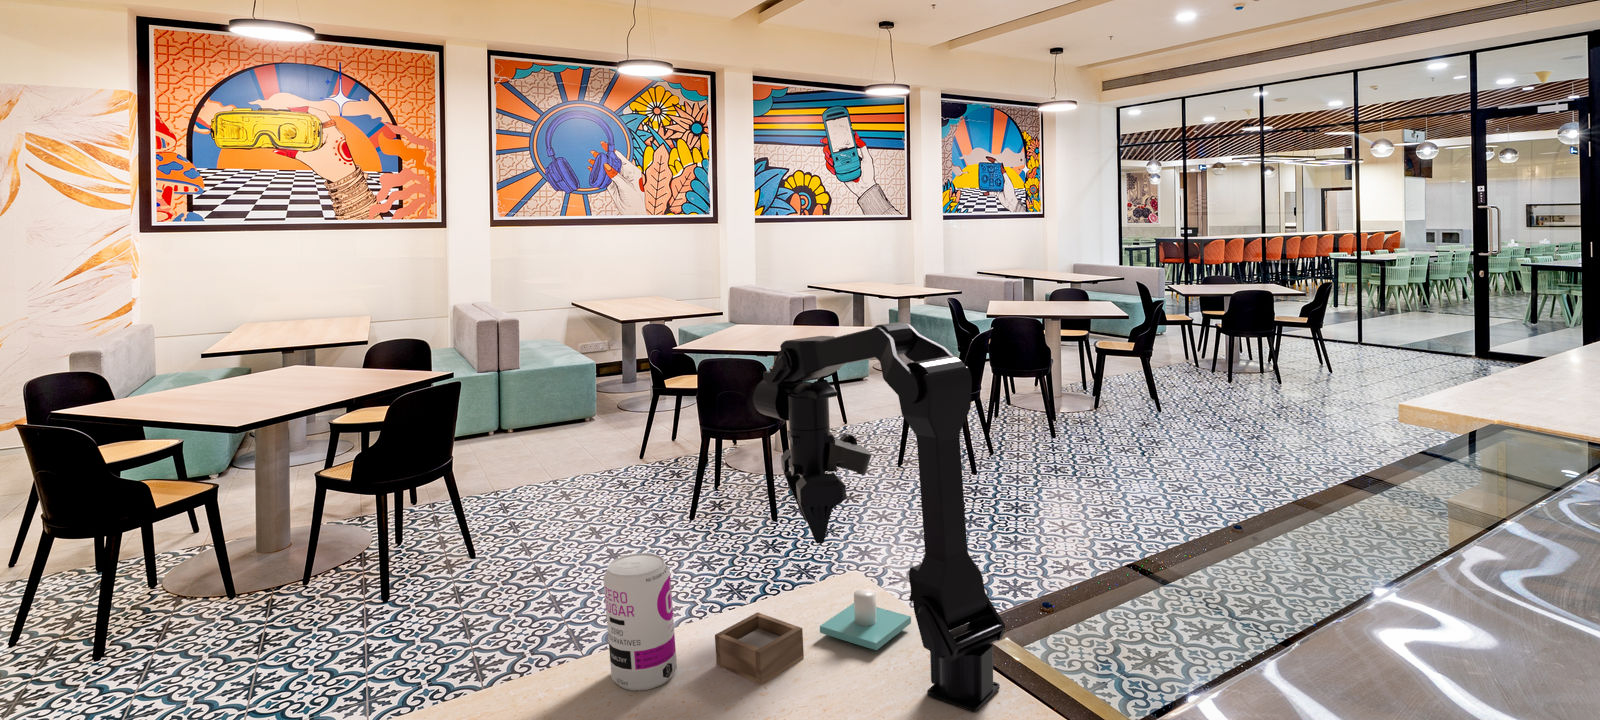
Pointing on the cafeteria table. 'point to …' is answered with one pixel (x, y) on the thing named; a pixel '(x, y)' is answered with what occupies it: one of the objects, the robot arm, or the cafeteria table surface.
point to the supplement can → (640, 621)
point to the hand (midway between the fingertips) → (813, 531)
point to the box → (759, 647)
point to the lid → (865, 622)
